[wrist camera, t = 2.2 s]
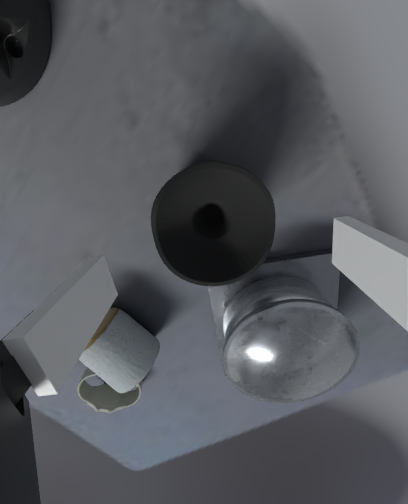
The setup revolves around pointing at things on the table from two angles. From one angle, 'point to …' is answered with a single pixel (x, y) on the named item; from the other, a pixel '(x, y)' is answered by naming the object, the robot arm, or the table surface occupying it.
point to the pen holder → (213, 223)
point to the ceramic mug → (120, 351)
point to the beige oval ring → (106, 395)
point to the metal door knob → (285, 329)
